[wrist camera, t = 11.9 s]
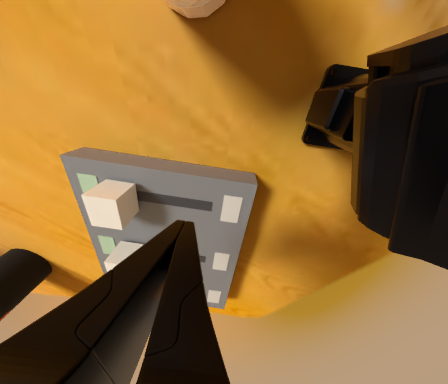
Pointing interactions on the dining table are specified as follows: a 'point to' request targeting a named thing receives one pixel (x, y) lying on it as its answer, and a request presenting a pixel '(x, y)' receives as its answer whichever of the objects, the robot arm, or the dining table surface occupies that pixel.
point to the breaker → (111, 204)
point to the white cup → (194, 7)
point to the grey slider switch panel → (171, 207)
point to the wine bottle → (19, 277)
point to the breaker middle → (120, 253)
